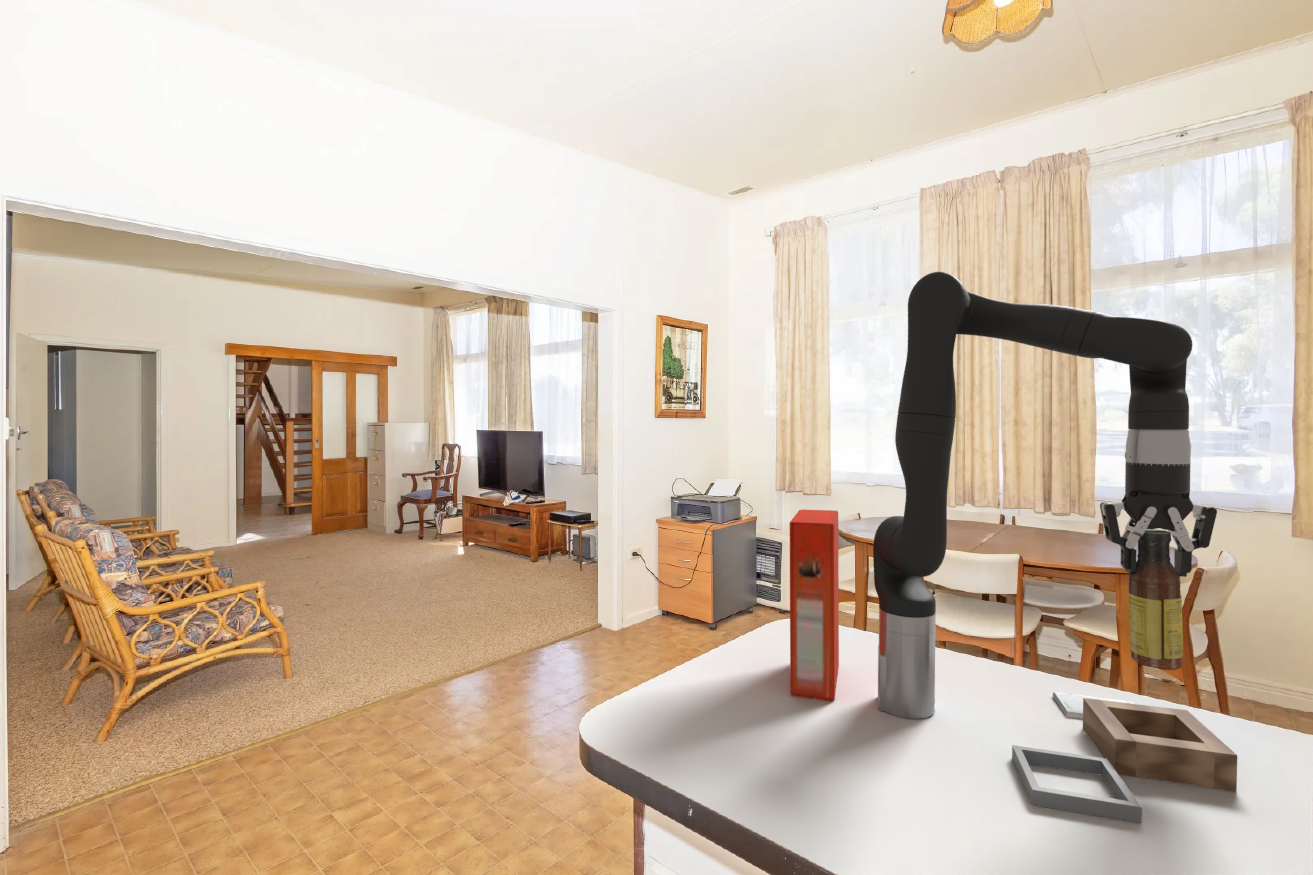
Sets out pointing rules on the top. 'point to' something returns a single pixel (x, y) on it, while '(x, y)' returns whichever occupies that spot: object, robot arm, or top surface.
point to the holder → (1159, 744)
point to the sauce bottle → (1155, 605)
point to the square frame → (1070, 801)
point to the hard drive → (1076, 703)
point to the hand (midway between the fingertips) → (1155, 573)
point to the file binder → (814, 604)
